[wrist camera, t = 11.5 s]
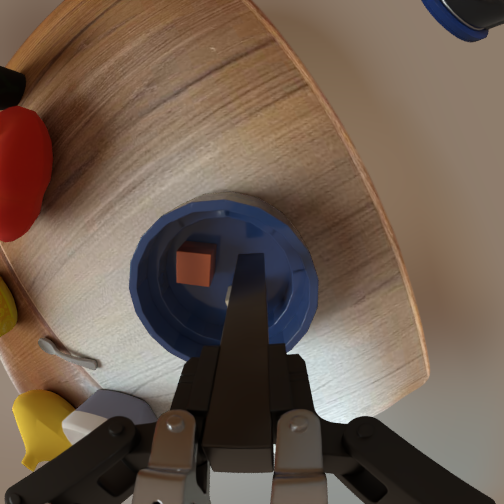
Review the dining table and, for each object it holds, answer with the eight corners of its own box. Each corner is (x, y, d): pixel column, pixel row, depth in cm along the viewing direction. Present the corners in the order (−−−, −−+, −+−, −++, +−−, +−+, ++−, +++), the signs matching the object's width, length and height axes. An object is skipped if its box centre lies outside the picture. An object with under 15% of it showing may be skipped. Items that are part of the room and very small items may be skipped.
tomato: (88, 135, 24) (26, 133, 14) (44, 249, 28) (-5, 278, 19) (28, 94, 21) (-24, 89, 12) (-6, 196, 26) (-52, 212, 16)
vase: (19, 369, 38) (-23, 422, 20) (71, 384, 37) (25, 457, 19) (56, 422, 44) (28, 473, 26) (111, 439, 43) (84, 503, 24)
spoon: (39, 332, 33) (34, 339, 31) (97, 354, 34) (92, 362, 32) (43, 345, 34) (38, 352, 32) (99, 367, 35) (95, 375, 33)
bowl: (105, 424, 40) (87, 464, 30) (78, 372, 35) (49, 416, 25) (176, 441, 40) (164, 488, 29) (159, 391, 35) (138, 449, 25)
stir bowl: (305, 186, 25) (318, 194, 20) (305, 332, 31) (313, 366, 25) (140, 200, 26) (112, 212, 20) (168, 336, 31) (154, 368, 26)
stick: (264, 252, 21) (273, 447, 6) (265, 276, 22) (274, 472, 6) (238, 253, 21) (200, 446, 6) (240, 277, 22) (212, 472, 7)
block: (216, 243, 27) (211, 254, 24) (214, 273, 28) (209, 287, 25) (185, 240, 27) (176, 250, 24) (184, 269, 28) (176, 283, 25)
